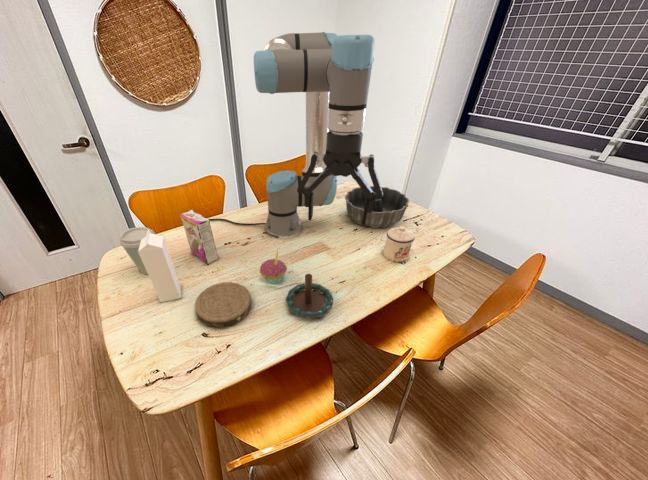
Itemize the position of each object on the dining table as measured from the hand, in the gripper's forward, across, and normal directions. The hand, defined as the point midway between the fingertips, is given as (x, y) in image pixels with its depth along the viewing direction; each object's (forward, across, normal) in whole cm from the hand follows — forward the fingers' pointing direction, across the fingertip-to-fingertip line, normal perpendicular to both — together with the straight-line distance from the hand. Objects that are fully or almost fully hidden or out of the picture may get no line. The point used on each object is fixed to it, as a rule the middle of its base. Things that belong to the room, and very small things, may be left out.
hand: (336, 220), depth 71 cm
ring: (+23, -5, -7) cm, 24 cm away
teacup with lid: (+25, +22, +25) cm, 42 cm away
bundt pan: (+26, +13, +51) cm, 58 cm away
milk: (+25, -49, -12) cm, 56 cm away
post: (+25, -6, -8) cm, 27 cm away
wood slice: (+25, -30, -14) cm, 41 cm away
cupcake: (+25, -19, +1) cm, 31 cm away
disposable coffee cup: (+25, -63, -2) cm, 68 cm away
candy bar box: (+26, -48, +9) cm, 55 cm away
